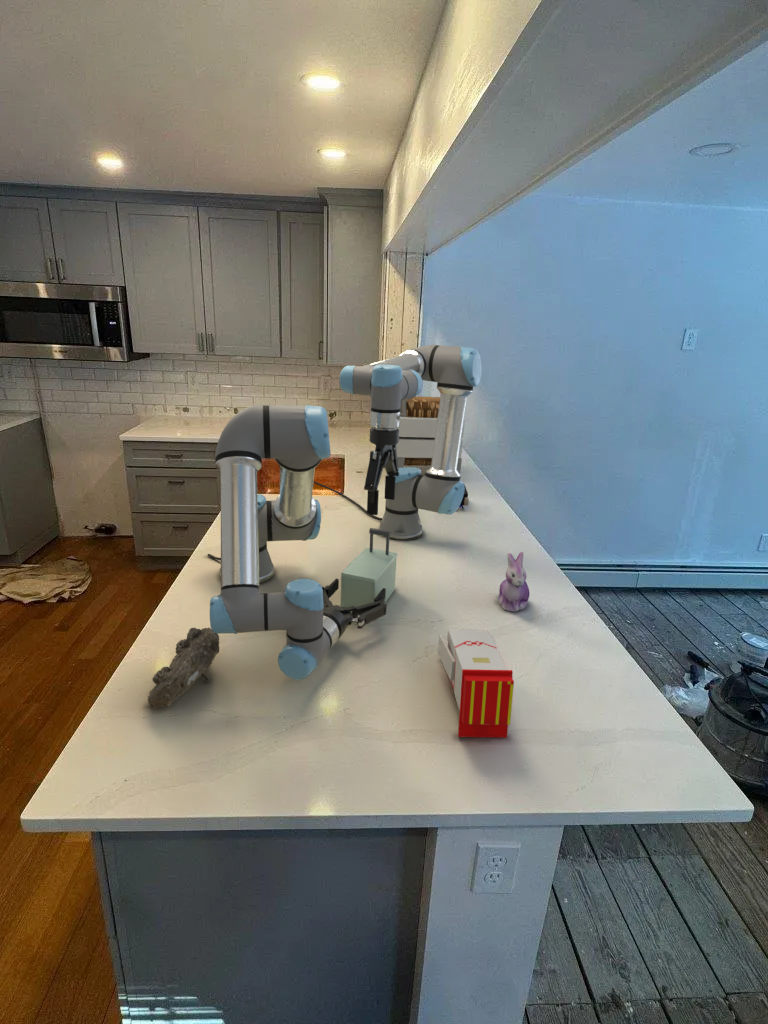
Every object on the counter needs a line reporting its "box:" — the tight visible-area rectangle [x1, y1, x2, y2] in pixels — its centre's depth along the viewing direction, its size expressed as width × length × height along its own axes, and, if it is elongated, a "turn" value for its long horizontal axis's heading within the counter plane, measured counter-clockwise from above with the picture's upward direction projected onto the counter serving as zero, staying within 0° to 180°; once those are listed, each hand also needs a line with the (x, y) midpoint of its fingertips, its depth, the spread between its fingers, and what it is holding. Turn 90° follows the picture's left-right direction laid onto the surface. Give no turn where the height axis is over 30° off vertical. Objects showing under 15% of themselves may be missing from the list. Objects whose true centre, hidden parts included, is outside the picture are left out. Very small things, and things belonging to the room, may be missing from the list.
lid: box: [340, 527, 398, 583], centre depth 149 cm, size 18×9×8 cm, turn 161°
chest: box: [340, 556, 398, 614], centre depth 152 cm, size 17×9×10 cm, turn 161°
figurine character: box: [459, 486, 470, 511], centre depth 230 cm, size 7×8×15 cm
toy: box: [437, 628, 515, 738], centre depth 117 cm, size 12×13×30 cm
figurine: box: [497, 551, 530, 612], centre depth 152 cm, size 9×10×15 cm
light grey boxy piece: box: [396, 395, 465, 475], centre depth 268 cm, size 34×33×41 cm
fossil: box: [147, 627, 220, 709], centre depth 117 cm, size 22×10×15 cm
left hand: (360, 588), depth 146 cm, fingers open, 12 cm apart
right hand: (381, 506), depth 152 cm, fingers open, 13 cm apart
